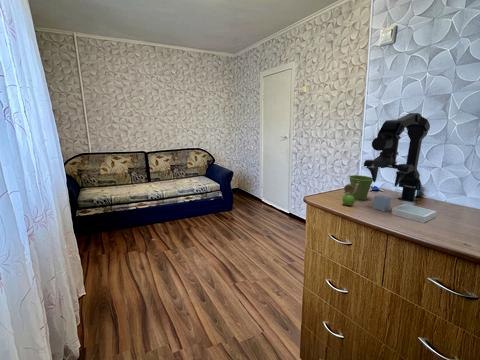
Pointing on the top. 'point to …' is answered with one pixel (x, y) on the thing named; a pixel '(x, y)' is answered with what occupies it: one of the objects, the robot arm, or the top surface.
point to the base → (414, 213)
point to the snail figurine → (349, 194)
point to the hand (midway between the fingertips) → (384, 184)
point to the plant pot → (361, 186)
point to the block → (381, 202)
